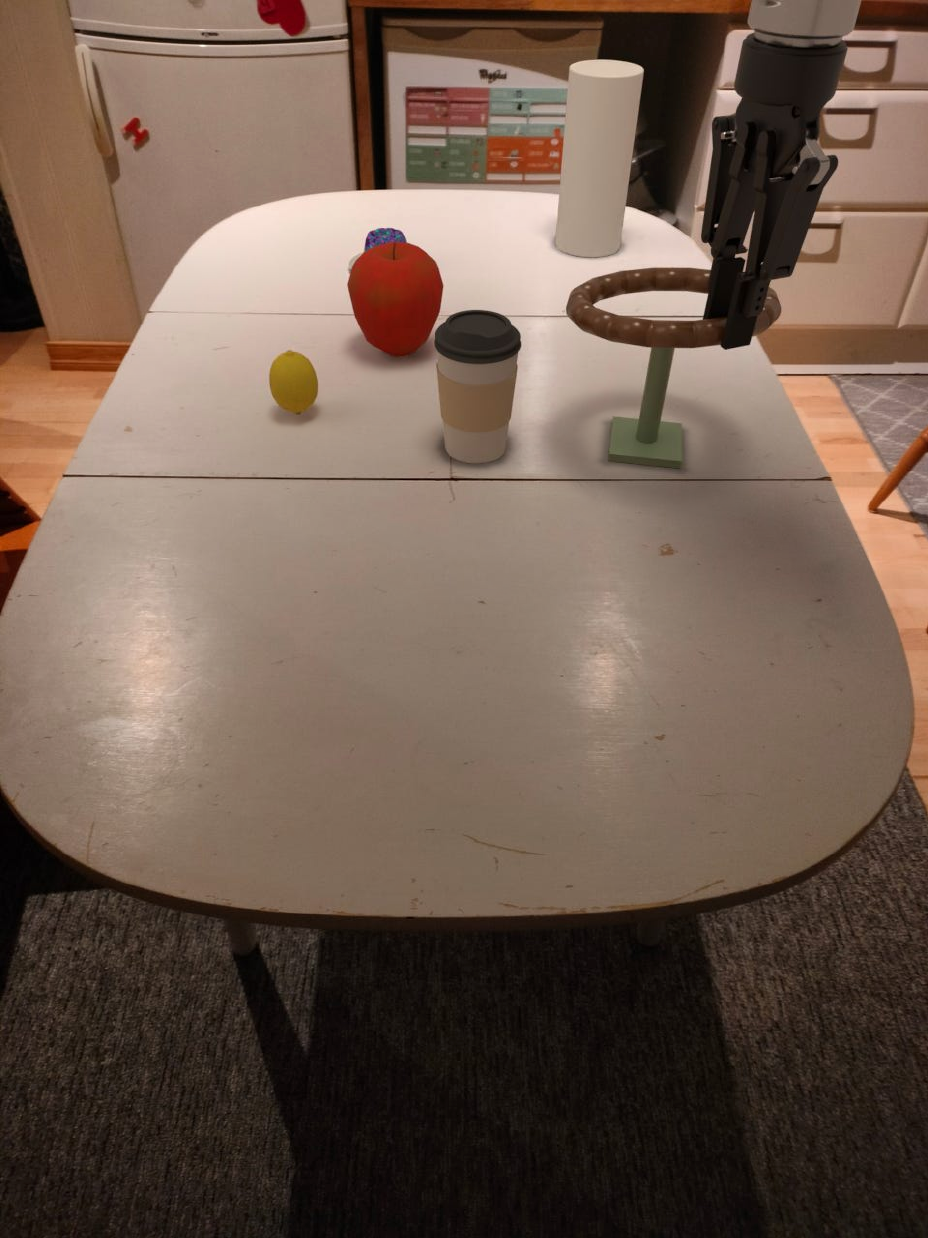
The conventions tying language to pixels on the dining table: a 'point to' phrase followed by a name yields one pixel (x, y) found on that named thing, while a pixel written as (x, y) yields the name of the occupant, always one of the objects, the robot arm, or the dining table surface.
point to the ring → (655, 330)
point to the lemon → (293, 382)
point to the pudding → (380, 240)
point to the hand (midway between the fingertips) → (724, 337)
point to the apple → (395, 296)
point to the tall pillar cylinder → (597, 155)
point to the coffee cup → (476, 382)
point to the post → (649, 422)
